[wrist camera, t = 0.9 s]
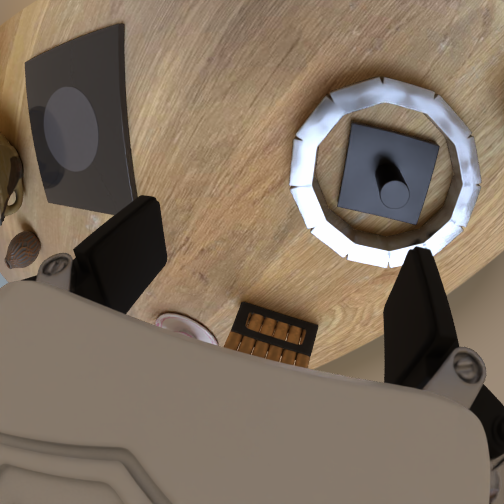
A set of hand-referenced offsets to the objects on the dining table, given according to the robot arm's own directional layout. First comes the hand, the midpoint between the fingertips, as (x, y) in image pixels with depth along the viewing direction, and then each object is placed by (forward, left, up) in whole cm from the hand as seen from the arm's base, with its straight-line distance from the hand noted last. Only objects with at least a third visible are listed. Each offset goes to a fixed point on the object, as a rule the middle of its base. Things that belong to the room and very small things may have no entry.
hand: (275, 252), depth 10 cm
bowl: (+5, -51, -18) cm, 55 cm away
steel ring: (+2, +7, -17) cm, 19 cm away
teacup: (+35, -16, -18) cm, 42 cm away
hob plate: (0, -30, -17) cm, 35 cm away
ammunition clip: (+24, -1, -18) cm, 30 cm away
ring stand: (+2, +7, -17) cm, 19 cm away
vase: (+23, -53, -18) cm, 61 cm away
